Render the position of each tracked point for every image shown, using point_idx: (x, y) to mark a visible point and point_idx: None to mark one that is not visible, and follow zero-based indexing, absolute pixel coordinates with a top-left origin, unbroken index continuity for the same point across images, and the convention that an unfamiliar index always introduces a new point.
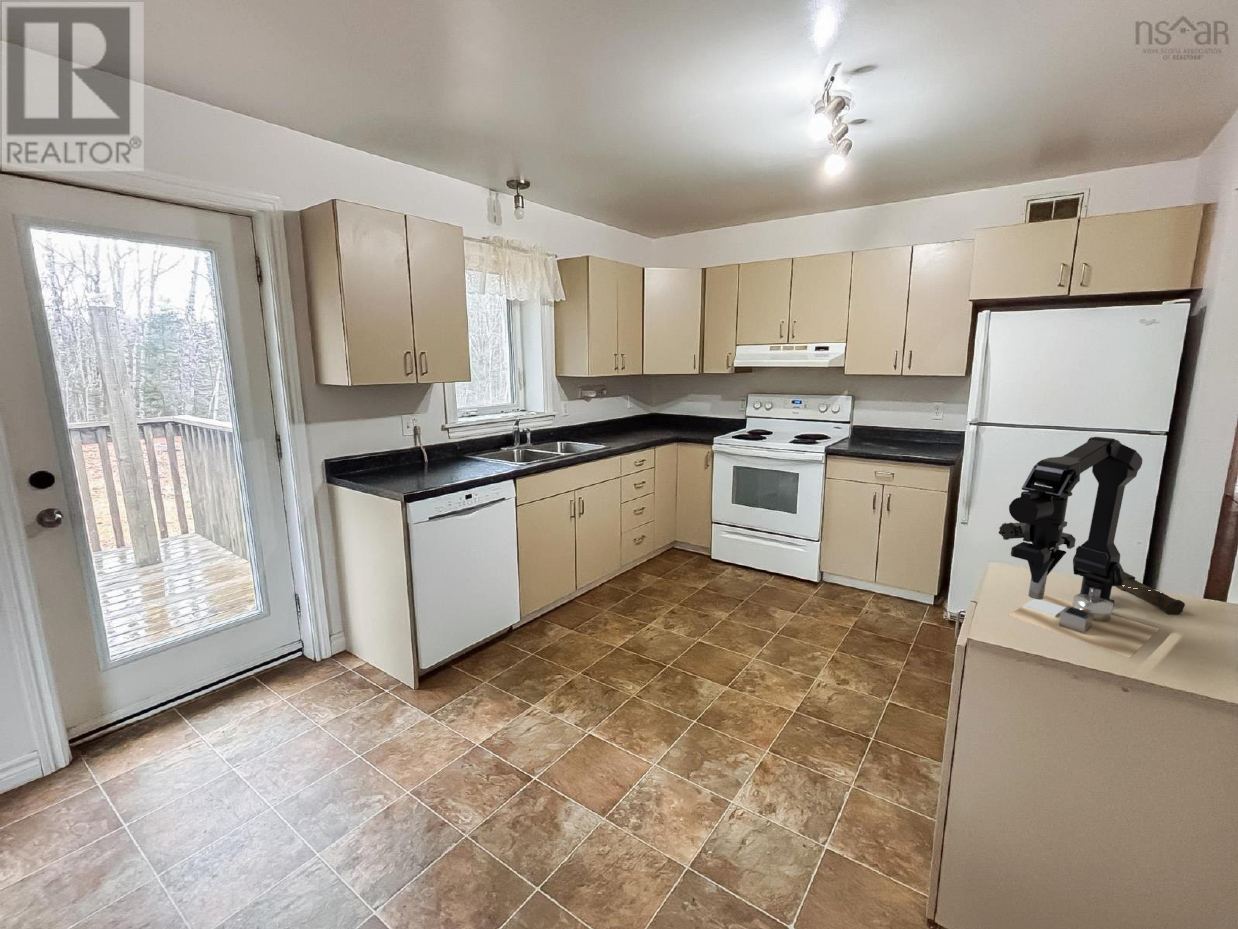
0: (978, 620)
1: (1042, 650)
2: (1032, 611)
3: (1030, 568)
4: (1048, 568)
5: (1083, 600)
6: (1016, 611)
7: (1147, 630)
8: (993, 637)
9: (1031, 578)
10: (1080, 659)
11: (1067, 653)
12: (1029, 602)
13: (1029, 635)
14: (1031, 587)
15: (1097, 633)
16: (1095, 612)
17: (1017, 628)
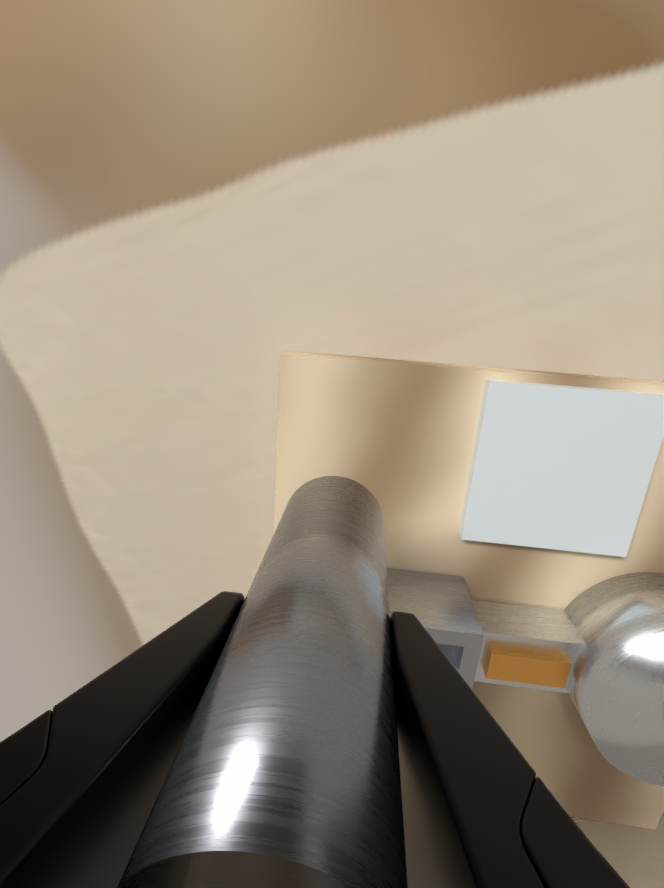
0: (169, 236)
1: (121, 540)
2: (451, 433)
3: (36, 727)
4: (407, 862)
5: (655, 679)
6: (380, 370)
7: (600, 804)
8: (51, 366)
9: (263, 579)
10: None
11: (180, 606)
12: (557, 395)
13: (216, 471)
14: (273, 537)
15: None
16: (573, 701)
17: (245, 413)
